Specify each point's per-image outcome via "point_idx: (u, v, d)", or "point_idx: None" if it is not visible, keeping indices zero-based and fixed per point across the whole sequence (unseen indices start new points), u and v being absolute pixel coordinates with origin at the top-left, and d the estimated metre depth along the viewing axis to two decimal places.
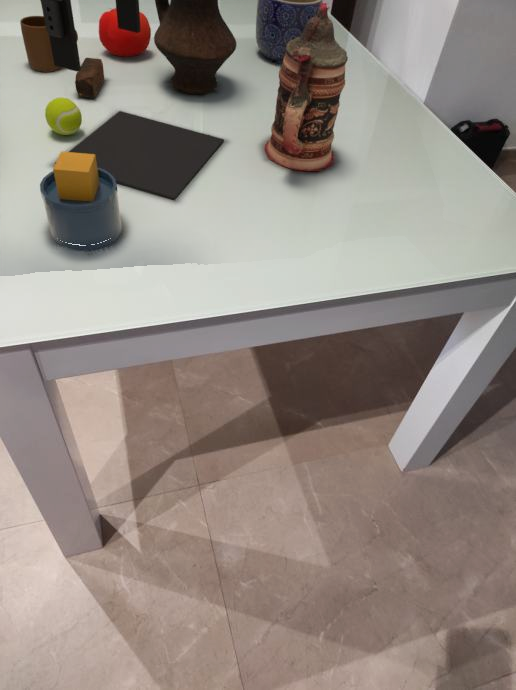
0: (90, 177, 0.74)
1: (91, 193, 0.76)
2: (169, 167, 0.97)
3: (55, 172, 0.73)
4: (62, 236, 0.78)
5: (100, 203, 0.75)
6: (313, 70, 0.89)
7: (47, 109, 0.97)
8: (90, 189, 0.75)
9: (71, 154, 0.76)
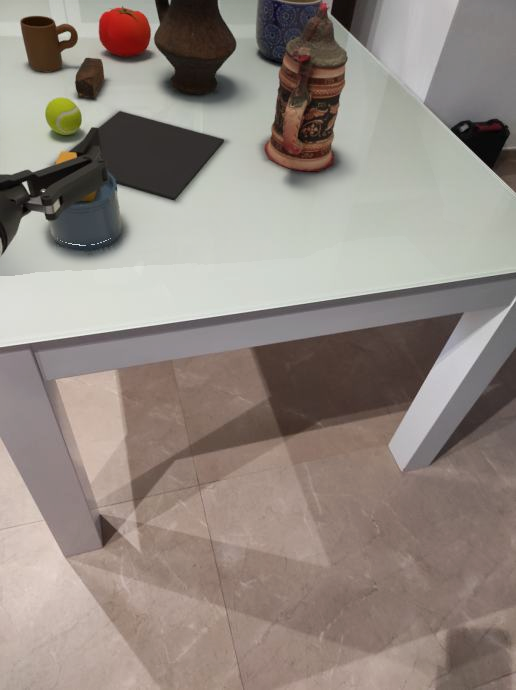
0: None
1: (91, 193, 0.76)
2: (169, 167, 0.97)
3: None
4: (62, 236, 0.78)
5: (100, 203, 0.75)
6: (313, 71, 0.89)
7: (47, 109, 0.97)
8: None
9: (71, 154, 0.76)
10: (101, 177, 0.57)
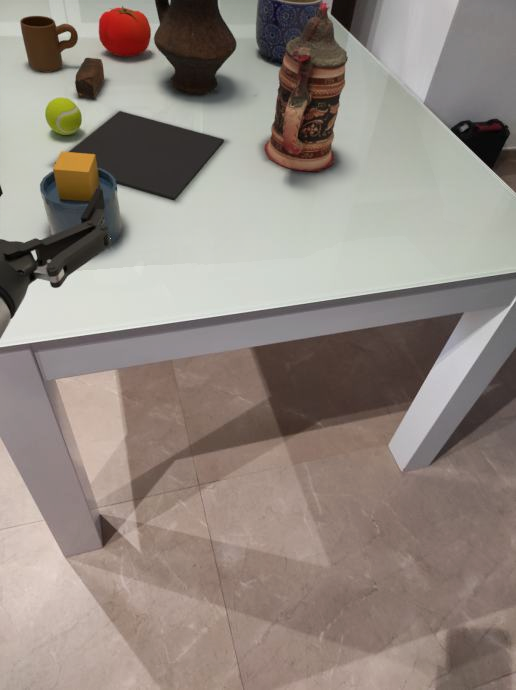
0: (90, 177, 0.74)
1: (91, 193, 0.76)
2: (169, 167, 0.97)
3: (55, 172, 0.73)
4: None
5: None
6: (313, 71, 0.89)
7: (47, 109, 0.97)
8: (90, 189, 0.75)
9: (71, 154, 0.76)
10: (103, 243, 0.62)
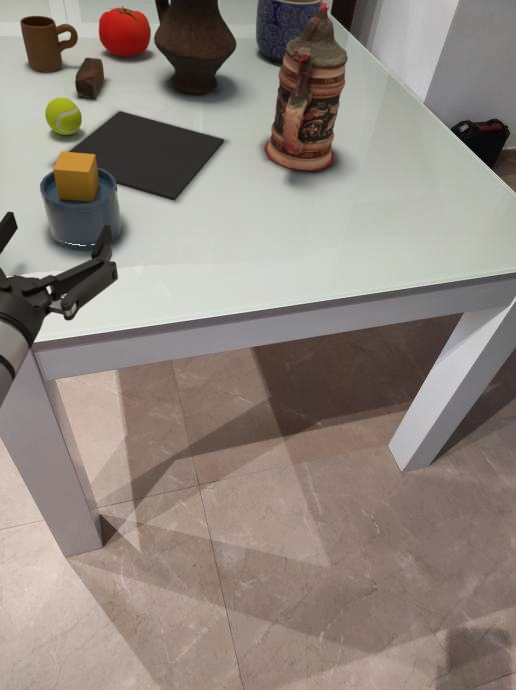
0: (90, 177, 0.74)
1: (91, 193, 0.76)
2: (169, 167, 0.97)
3: (55, 172, 0.73)
4: (62, 236, 0.78)
5: (100, 203, 0.75)
6: (313, 71, 0.89)
7: (47, 109, 0.97)
8: (90, 189, 0.75)
9: (71, 154, 0.76)
10: (111, 277, 0.67)
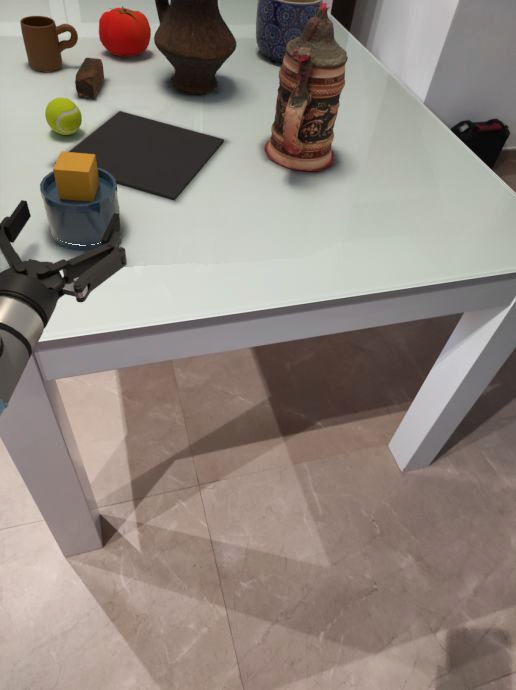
0: (90, 177, 0.74)
1: (91, 193, 0.76)
2: (169, 167, 0.97)
3: (55, 172, 0.73)
4: (62, 236, 0.78)
5: (100, 203, 0.75)
6: (313, 71, 0.89)
7: (47, 109, 0.97)
8: (90, 189, 0.75)
9: (71, 154, 0.76)
10: (120, 262, 0.71)
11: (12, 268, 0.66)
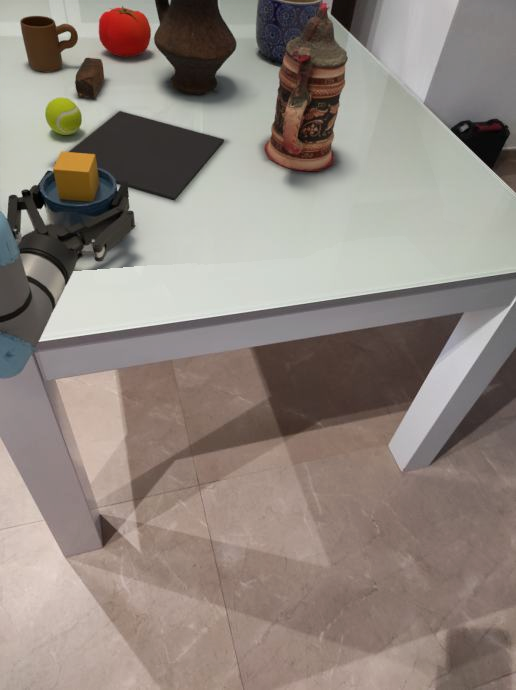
0: (90, 177, 0.74)
1: (91, 193, 0.76)
2: (169, 167, 0.97)
3: (55, 172, 0.73)
4: None
5: (100, 203, 0.75)
6: (313, 70, 0.89)
7: (47, 109, 0.97)
8: (90, 189, 0.75)
9: (71, 154, 0.76)
10: (130, 224, 0.76)
11: (35, 231, 0.71)
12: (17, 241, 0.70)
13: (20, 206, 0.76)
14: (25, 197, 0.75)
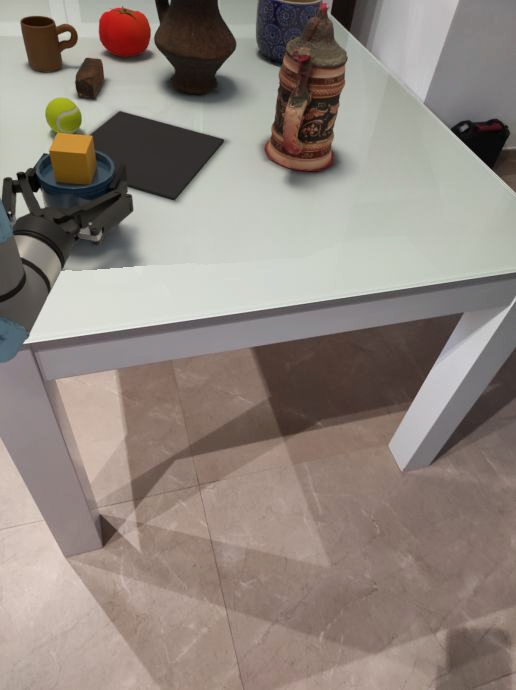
0: (87, 159, 0.72)
1: (88, 176, 0.74)
2: (169, 167, 0.97)
3: (51, 153, 0.71)
4: None
5: (97, 186, 0.73)
6: (313, 71, 0.89)
7: (47, 109, 0.97)
8: (87, 171, 0.73)
9: (67, 135, 0.73)
10: (128, 208, 0.74)
11: (30, 213, 0.69)
12: (12, 224, 0.68)
13: (15, 189, 0.74)
14: (21, 179, 0.73)
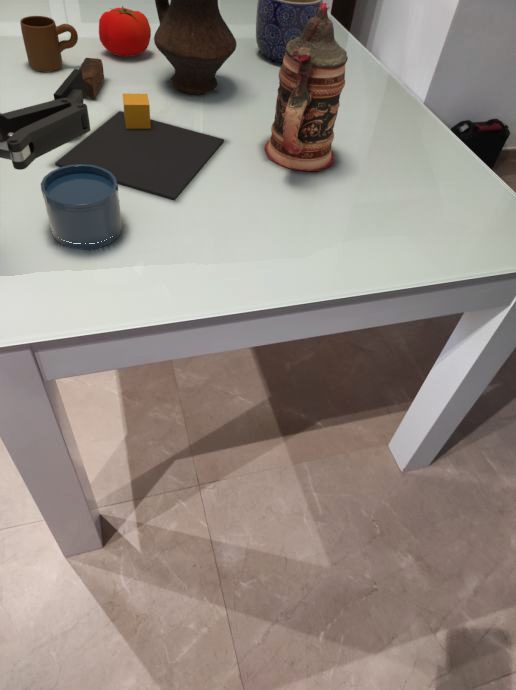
0: (149, 109, 1.03)
1: (149, 121, 1.05)
2: (169, 167, 0.97)
3: (125, 107, 1.01)
4: (64, 235, 0.79)
5: (101, 202, 0.75)
6: (313, 71, 0.89)
7: None
8: (149, 118, 1.04)
9: (130, 94, 1.04)
10: (80, 124, 0.50)
11: None
12: None
13: None
14: None
